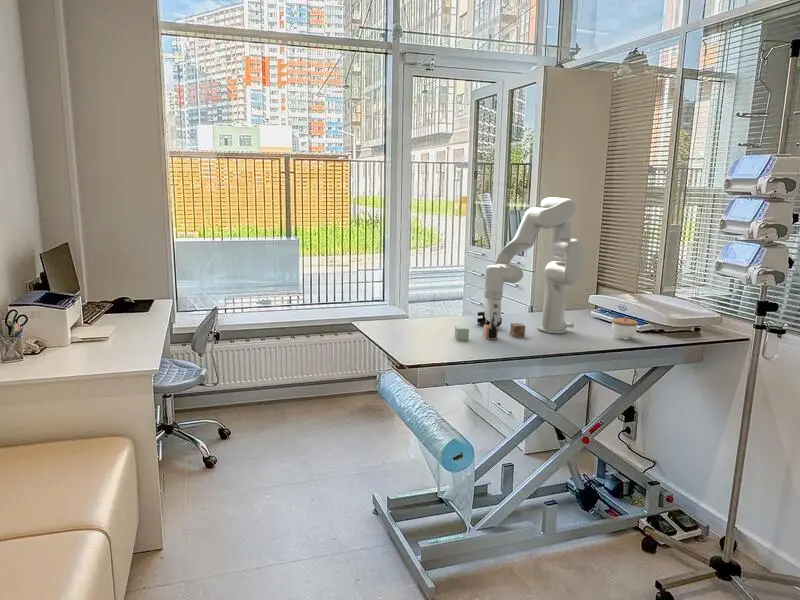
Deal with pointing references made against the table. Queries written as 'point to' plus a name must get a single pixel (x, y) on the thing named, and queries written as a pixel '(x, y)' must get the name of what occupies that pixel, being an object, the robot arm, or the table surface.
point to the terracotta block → (486, 332)
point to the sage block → (461, 333)
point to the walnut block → (517, 330)
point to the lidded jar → (624, 327)
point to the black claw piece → (482, 320)
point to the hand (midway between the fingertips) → (490, 335)
